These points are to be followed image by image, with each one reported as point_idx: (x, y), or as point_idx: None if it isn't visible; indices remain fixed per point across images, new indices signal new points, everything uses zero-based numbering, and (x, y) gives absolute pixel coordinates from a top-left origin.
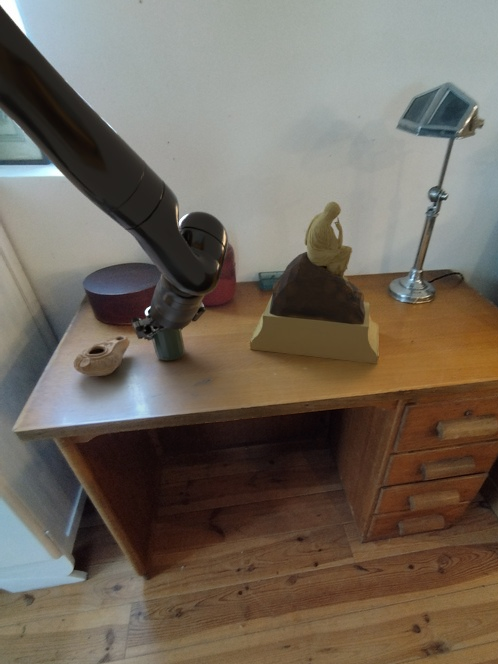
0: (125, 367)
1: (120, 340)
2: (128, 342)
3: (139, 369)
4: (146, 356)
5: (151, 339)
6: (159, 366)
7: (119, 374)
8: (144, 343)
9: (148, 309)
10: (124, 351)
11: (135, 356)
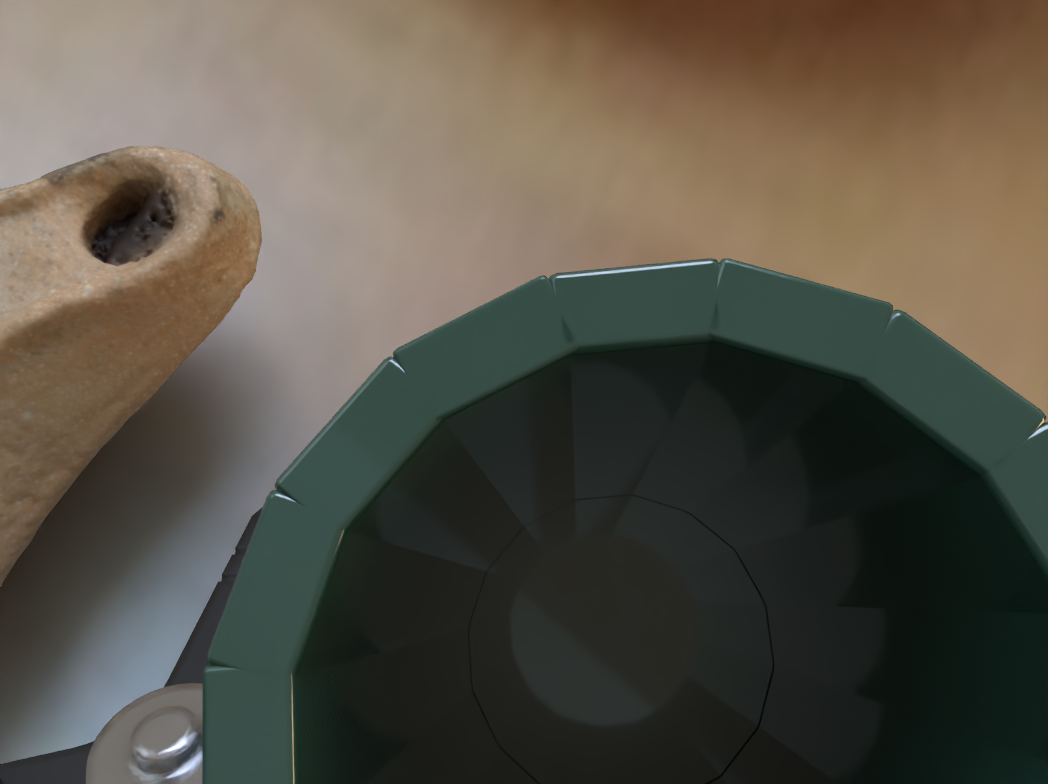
0: (109, 542)
1: (89, 291)
2: (222, 293)
3: None
4: None
5: None
6: None
7: (3, 626)
8: (476, 230)
9: (419, 424)
10: (101, 440)
11: (285, 410)
